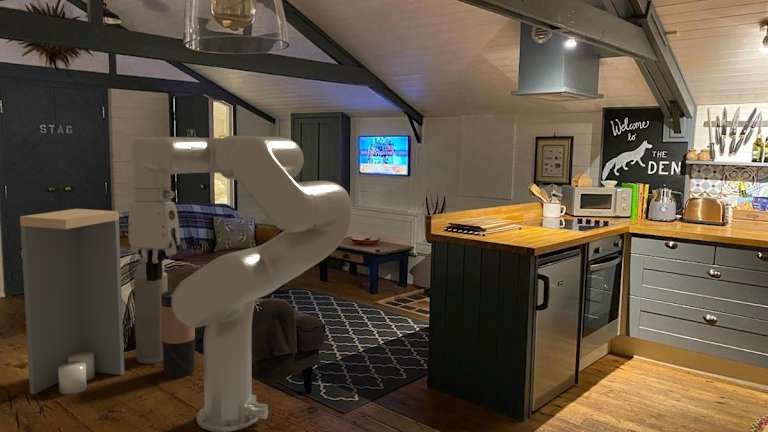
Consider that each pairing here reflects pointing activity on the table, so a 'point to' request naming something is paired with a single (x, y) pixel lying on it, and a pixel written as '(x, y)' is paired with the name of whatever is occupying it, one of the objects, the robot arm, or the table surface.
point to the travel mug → (176, 342)
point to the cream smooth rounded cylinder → (72, 377)
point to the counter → (72, 291)
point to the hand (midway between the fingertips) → (154, 279)
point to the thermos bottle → (148, 315)
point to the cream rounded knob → (86, 358)
